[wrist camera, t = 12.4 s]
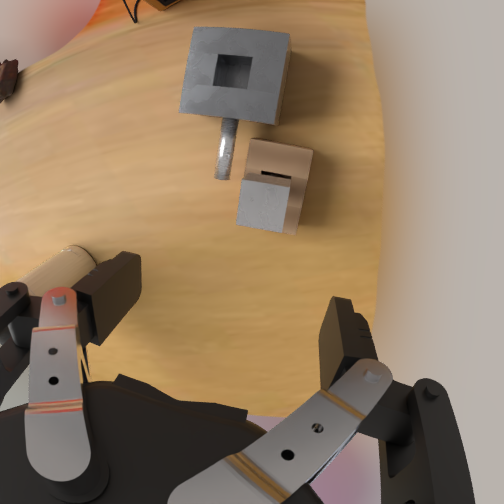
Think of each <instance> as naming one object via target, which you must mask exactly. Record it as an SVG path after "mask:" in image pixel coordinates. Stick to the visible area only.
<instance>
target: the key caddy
mask: <svg viewBox="0 0 504 504" xmlns="http://www.w3.org/2000/svg"><path fill="white" fill-rule="evenodd" d="M312 156H313V150H312V149H311V148H306V147H301V146H296V145H291V144H286V143H281V142H275V141H270V140H264V139H258V138H252V139H250V143H249V150H248V156H247V162H246V168H245V174H244V177H245V176H246V175H247V174H248V173H249V172H250V173H256V174H262V175H267V174H268V173H270V172H273V173H278V174H280V175H281V176H282V178H285V179H291V184H290V191H289V196H288V202H287V207H286V213H285V218H284V224H283V229H282V233H287V234H292V235H296V231H297V227H298V222H299V218H300V213H301V209H302V204H303V199H304V195H305V190H306V185H307V180H308V176H309V171H310V166H311V161H312Z"/></svg>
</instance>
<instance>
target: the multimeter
mask: <svg viewBox="0 0 504 504" xmlns="http://www.w3.org/2000/svg"><path fill="white" fill-rule="evenodd" d="M138 1H139V0H137V1H136V4H135V7H134V18H135V20H134V18H133V16H132V14H131V12H130V10H129V8H128V6H127V4H126V2H125V0H123V2H124V4H125V6H126V8H127V10H128V12H129V14H130V16H131V18H132V20H133V21H134V23H137V19H136V6H137V3H138ZM143 1H145V2H147V3H148V4H150V5H151V6H153V7H154V8H156V9H157V10H158V11H162V10H165V9H167V8H168V7H169V6H171V5H173V4H175V3H176V2H178V1H180V0H143Z"/></svg>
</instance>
